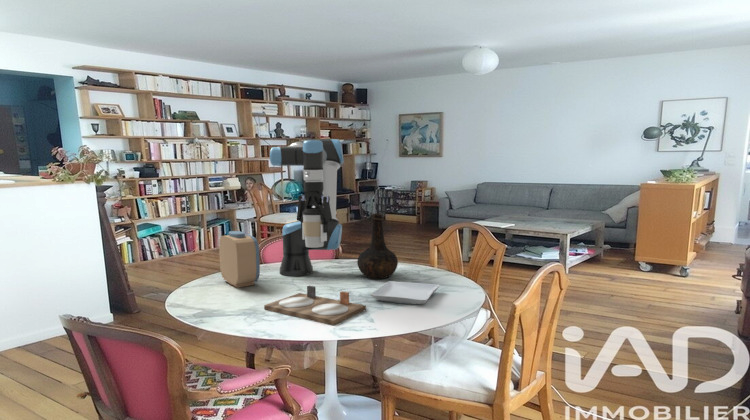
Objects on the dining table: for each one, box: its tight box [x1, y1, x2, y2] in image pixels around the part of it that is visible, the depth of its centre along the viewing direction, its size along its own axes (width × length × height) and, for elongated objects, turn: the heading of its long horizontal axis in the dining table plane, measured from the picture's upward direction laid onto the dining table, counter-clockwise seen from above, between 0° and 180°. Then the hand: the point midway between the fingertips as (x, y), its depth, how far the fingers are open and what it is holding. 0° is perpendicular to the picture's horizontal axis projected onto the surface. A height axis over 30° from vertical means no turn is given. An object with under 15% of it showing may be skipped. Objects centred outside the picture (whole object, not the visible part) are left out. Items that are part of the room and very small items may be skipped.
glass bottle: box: [357, 213, 399, 280], centre depth 207 cm, size 18×18×28 cm
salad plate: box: [370, 280, 440, 305], centre depth 176 cm, size 21×21×3 cm
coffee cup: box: [303, 206, 324, 248], centre depth 181 cm, size 9×9×15 cm
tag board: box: [263, 285, 367, 326], centre depth 161 cm, size 30×18×6 cm, turn 57°
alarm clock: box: [218, 230, 261, 288], centre depth 197 cm, size 21×10×22 cm, turn 37°
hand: (314, 240), depth 182 cm, fingers closed on coffee cup, 8 cm apart
